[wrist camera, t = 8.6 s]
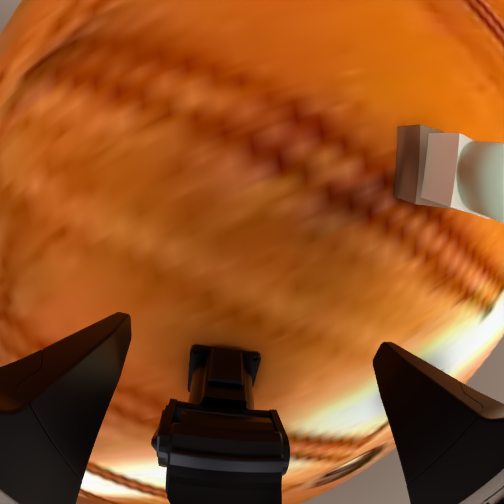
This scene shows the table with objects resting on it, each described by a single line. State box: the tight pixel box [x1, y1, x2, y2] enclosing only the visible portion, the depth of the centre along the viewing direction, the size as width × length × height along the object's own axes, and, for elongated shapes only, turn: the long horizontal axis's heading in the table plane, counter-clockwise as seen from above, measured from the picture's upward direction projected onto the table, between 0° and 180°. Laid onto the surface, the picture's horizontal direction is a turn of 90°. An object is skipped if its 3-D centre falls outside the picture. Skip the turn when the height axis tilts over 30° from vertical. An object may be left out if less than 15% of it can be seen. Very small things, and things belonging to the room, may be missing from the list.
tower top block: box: [421, 133, 489, 219], centre depth 15 cm, size 5×5×4 cm
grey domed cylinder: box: [456, 141, 504, 223], centre depth 12 cm, size 5×5×4 cm
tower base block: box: [394, 125, 458, 210], centre depth 18 cm, size 6×6×4 cm
